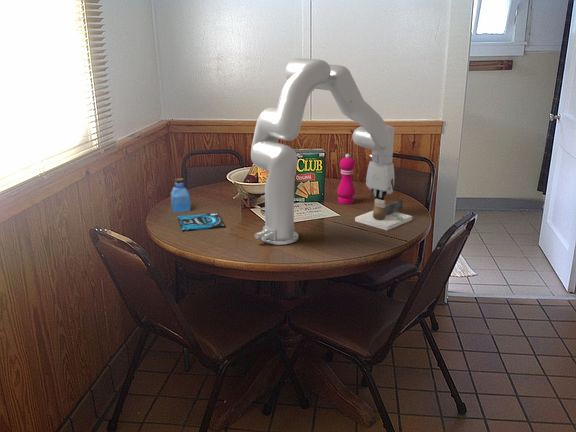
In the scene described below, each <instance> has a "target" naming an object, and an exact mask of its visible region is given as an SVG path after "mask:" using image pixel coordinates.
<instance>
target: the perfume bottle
mask: <svg viewBox="0 0 576 432" xmlns="http://www.w3.org/2000/svg"><path fill="white" fill-rule="evenodd" d="M174 181H175V182H174V186H173V187H172V189H171V191H170V204H171V205H170V206H171V209H172V211H173V213H181V212H182V213H183V212H191V210H192V209H191V196H190V193H189V191H188V190H187V188H186V187H185V182H184V178H181V177H180V178H179V177H178V178H175V179H174Z"/></svg>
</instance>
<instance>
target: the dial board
mask: <svg viewBox="0 0 576 432" xmlns="http://www.w3.org/2000/svg"><path fill="white" fill-rule="evenodd" d="M412 220H413V216H412V215H410V214H405V213H401V212H398V211H396V212H394V213H391V214H388V215H386V216H385V218H384V219H375V218H373V210H371V211H368V212H366V213H362V214H360V215H358V216H355V217H354V222H357V223H361V224H363V225H364V224H365V225H367V226H370V227H373V228H374V227H375V228H377V229H381V230H384V231H389V230H392V229H394V228H396V227H399V226H401V225H403V224H406V223H408V222H410V221H412Z"/></svg>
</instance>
